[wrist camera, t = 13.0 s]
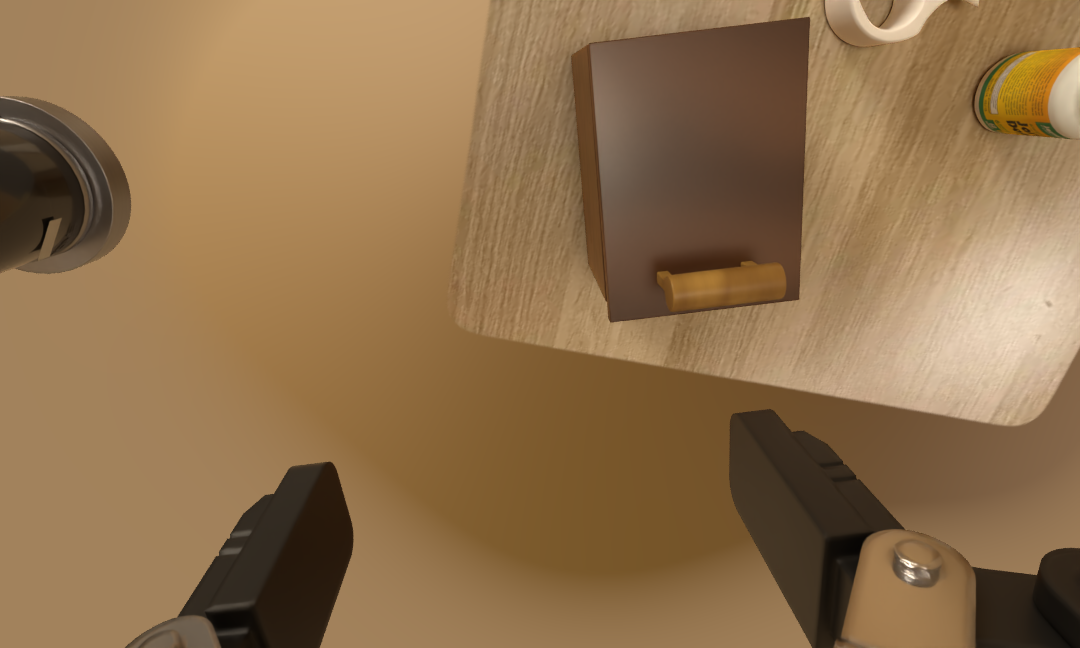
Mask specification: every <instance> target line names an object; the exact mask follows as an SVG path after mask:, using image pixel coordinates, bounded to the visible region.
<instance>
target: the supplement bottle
mask: <svg viewBox="0 0 1080 648" xmlns="http://www.w3.org/2000/svg"><path fill="white" fill-rule="evenodd" d="M975 112H976V115H977V118H978V120H979V121H980V123H981V124H982V125H983V126H984V127H985V128H986V129H988V130H990V131H993V132H997V133H1005V134H1017V135H1029V136H1043V137H1055V138H1065V139H1080V47H1079V48H1067V49H1055V50H1043V51H1030V52H1021V53H1016V54H1013V55H1010V56H1008V57H1006V58H1004V59H1002V60H1001V61H999V62H998V63H997V64H995V65H994V66H993V67H992V68H991V69H990V70H989V71H988V72H987V73H986V74H985V75H984V77H983V78H982V80H981V82H980V84H979V86H978V88H977V91H976V95H975Z"/></svg>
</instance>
